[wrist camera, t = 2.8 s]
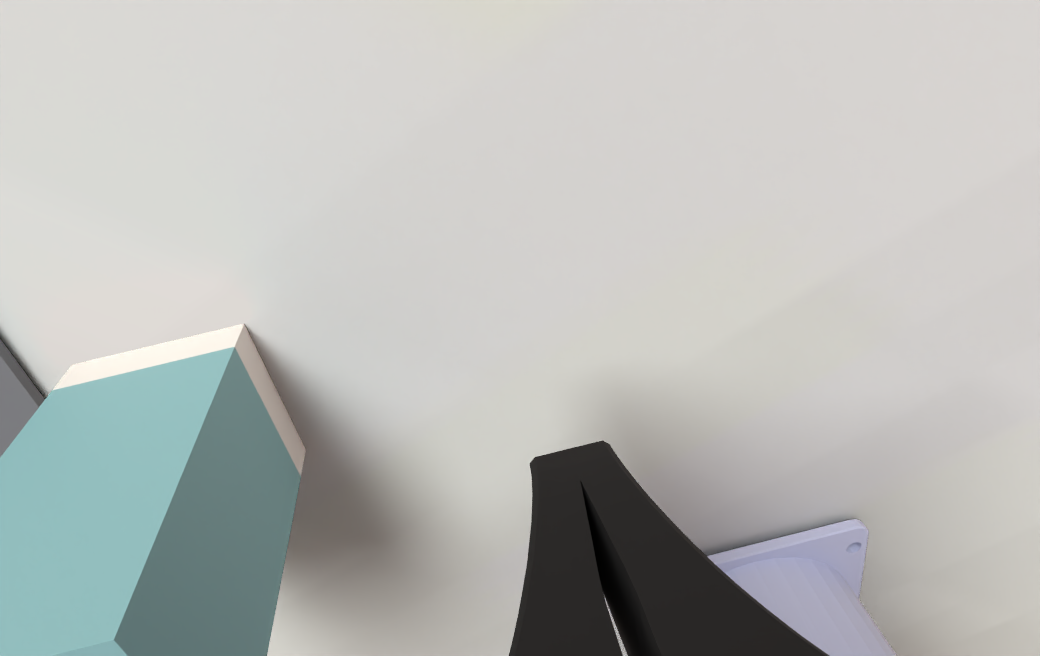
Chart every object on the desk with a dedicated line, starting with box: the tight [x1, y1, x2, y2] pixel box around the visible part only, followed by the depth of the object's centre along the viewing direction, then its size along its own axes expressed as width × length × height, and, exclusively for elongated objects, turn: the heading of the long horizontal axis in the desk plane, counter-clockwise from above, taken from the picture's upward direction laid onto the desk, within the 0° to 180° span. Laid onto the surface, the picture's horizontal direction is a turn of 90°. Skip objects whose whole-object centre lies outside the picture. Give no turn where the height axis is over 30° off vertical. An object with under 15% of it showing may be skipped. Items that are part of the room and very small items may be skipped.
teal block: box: [0, 324, 306, 656], centre depth 13 cm, size 4×4×8 cm
